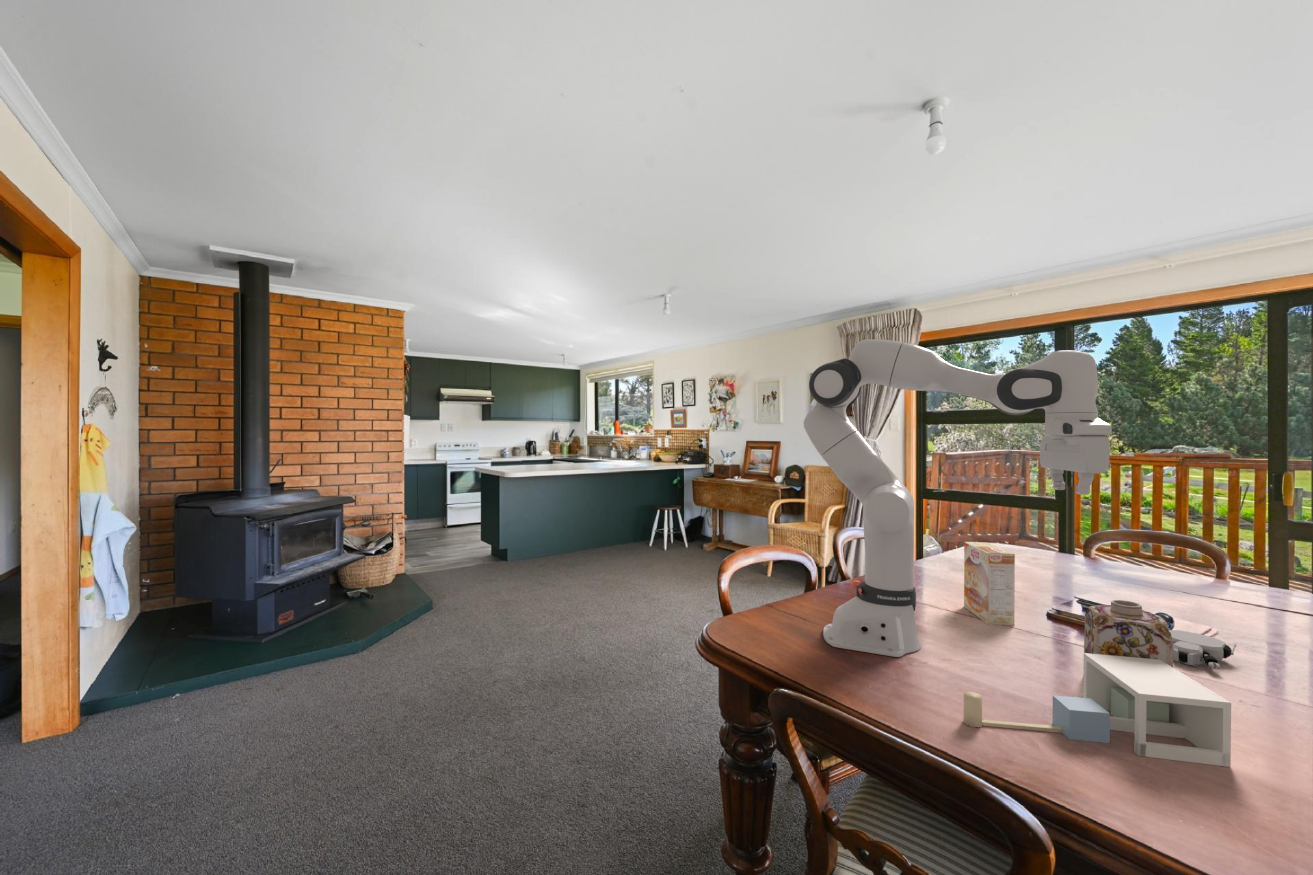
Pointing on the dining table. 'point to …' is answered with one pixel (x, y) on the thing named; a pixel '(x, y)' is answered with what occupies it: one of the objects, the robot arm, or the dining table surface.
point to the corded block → (1068, 717)
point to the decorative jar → (1127, 632)
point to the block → (1126, 706)
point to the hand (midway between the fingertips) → (1070, 492)
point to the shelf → (1189, 708)
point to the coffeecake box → (989, 582)
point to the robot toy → (1198, 649)
